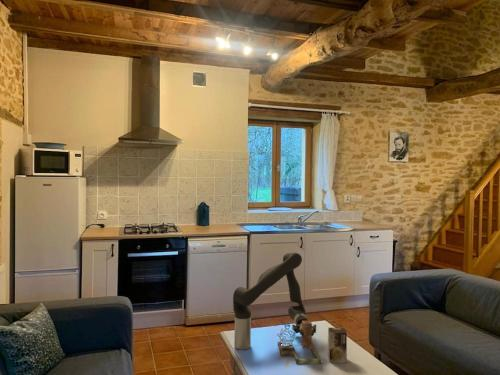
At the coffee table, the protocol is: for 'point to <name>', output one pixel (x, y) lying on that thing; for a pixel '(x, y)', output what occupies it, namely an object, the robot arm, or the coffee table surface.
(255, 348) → the coffee table surface
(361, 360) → the coffee table surface
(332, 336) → the coffee box
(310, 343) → the walnut block
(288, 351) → the trap lane
